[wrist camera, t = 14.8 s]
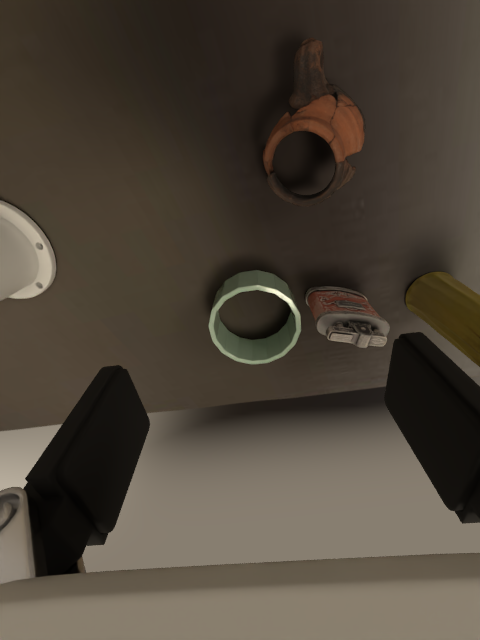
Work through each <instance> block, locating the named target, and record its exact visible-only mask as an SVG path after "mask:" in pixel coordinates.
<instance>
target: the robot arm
mask: <svg viewBox="0 0 480 640" xmlns="http://www.w3.org/2000/svg"><path fill="white" fill-rule="evenodd" d="M55 274H56V259H55V255H54V252H53V249H52V247H51V245H50V242H49V240H48V239H47V237H46V236H45V234H44V233H43V231H42V230H41V229H40V228H39V227H38V225H37V224H36V223H35V222H34V221H33V220H32V219H31V218H29V217H28V216H27V215H26V214H25V213H23V212H22V211H20V210H19V209H17V208H16V207H14V206H12V205H10V204H8V203H6V202H4V201H1V200H0V301H1V300H3V299H5V298H7V297H9V298H16V299H26V298H31V297H35V296H37V295H39V294H40V293H42V292H44V291H45V290H46V289H48V288H49V286H50V285H51V284H52V282H53V280H54V278H55ZM385 404H386V406H387V408H388V410H389V412H390V413H391V415H392V416H393V418H394V420H395V422H396V423H397V425H398V427H399V428H400V430H401V432H402V433H403V435H404V437H405V438H406V440H407V442H408V443H409V445H410V447H411V449H412V450H413V452H414V454H415V455H416V457H417V459H418V460H419V462H420V463H421V465H422V467H423V469H424V470H425V472H426V474H427V475H428V477H429V479H430V480H431V482H432V484H433V485H434V487H435V489H436V490H437V492H438V494H439V496H440V497H441V499H442V501H443V502H444V504H445V505H446V507H447V508H448V509H449V510H451V511H455V513H456V514H457V516H458V517H459V519H460V521H461V522H462V523H477V522H480V386H479V385H477V384H476V383H475V382H474V381H473V380H472V379H471V378H470V377H469V376H468V375H467V374H466V373H465V372H464V371H462V370H461V369H460V368H459V367H458V366H457V365H456V364H455V363H454V362H453V361H452V360H451V359H450V358H449V357H448V356H446V355H445V354H444V353H443V352H442V351H441V350H440V349H439V348H438V347H437V346H436V345H435V344H434V343H433V342H431V341H430V340H429V339H428V338H427V337H426V336H425V335H424V334H423V333H421V332H416V333H407V334H401V335H400V336H399V339H395V341H394V344H393V349H392V355H391V361H390V367H389V373H388V379H387V385H386V391H385ZM149 426H150V422H149V418H148V416H147V413H146V411H145V409H144V407H143V404H142V402H141V400H140V398H139V395H138V393H137V391H136V389H135V386H134V384H133V382H132V380H131V378H130V375H129V373H128V371H127V370H126V369H123V368H122V367H121V366H119V365H117V366H108V367H103V368H101V370H100V371H99V372H98V374H97V375H96V377H95V378H94V380H93V381H92V382H91V384H90V385H89V387H88V388H87V390H86V391H85V393H84V394H83V396H82V397H81V398H80V400H79V401H78V403H77V404H76V406H75V407H74V409H73V410H72V412H71V413H70V414H69V416H68V417H67V419H66V420H65V422H64V423H63V425H62V426H61V428H60V429H59V430H58V432H57V433H56V435H55V436H54V438H53V439H52V441H51V442H50V444H49V445H48V447H47V448H46V450H45V451H44V452H43V454H42V455H41V457H40V458H39V460H38V461H37V462H36V464H35V465H34V467H33V468H32V470H31V471H30V473H29V474H28V476H27V477H26V478H25V479H26V480H27V482H28V483H27V484H26V486H25V487H24V489H22V488H20V487H11V488H7V489H4V490H1V491H0V640H480V553H459V554H429V555H408V556H387V557H365V558H344V559H323V560H303V561H283V562H264V563H246V564H226V565H207V566H191V567H190V566H189V567H172V568H155V569H137V570H119V571H105V572H104V571H103V572H90V573H86V571H85V566H84V562H83V558H82V554H83V552H84V550H85V547H86V545H87V546H91V545H104V544H105V541H106V538H107V535H108V533H109V532H111V531H112V530H113V529H114V527H115V525H116V522H117V519H118V516H119V513H120V510H121V508H122V505H123V502H124V499H125V496H126V493H127V490H128V487H129V485H130V482H131V479H132V476H133V473H134V470H135V467H136V465H137V462H138V459H139V456H140V453H141V450H142V448H143V445H144V442H145V439H146V436H147V433H148V431H149Z"/></svg>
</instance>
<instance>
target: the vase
mask: <svg viewBox="0 0 480 640" xmlns="http://www.w3.org/2000/svg"><path fill="white" fill-rule="evenodd" d="M405 301H406V305H407V307H408V309H409V310H410V311H411V312H413V313H415V314H416V315H417V316H419V317H420V318H421V319H422V320H424V321H425V322H426V323H427V324H429V325H430V326H431V327H432V328H433V329H435V330H436V331H437V332H438V333H439V334H441V335H442V336H443V337H444V338H446V339H447V340H448V341H449V342H450V343H452V344H453V345H454V346H455V347H456V348H458V349H459V350H460V351H461V352H462V353H464V354H465V355H466V356H467V357H468V358H470V359H471V360H472V361H473V362H474V363H476V364H477V365H478V366H479V367H480V295H479V294H477V293H475V292H474V291H472V290H471V289H470V288H468V287H467V286H465V285H464V284H462V283H461V282H459V281H457V280H456V279H454V278H453V277H452V276H451V275H449V274H447V273H445V272H431V273H428V274H425V275H423V276H421V277H420V278H418V279H417V280H416V281H414V282H413V283H412V285H411V286H410V287H409V289H408V291H407V293H406V299H405Z"/></svg>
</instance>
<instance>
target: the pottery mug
mask: <svg viewBox="0 0 480 640" xmlns="http://www.w3.org/2000/svg"><path fill="white" fill-rule="evenodd" d="M293 78H294V91H293V94H292V95H291V97H290V98H289V104H290V105H291V107H292V108H295V109H299V108H300V109H299V110H298V111H297V112H296V113H295V114H294V115H293V116H291V115H290V113H289V112H287V113H285V114H284V115H283V117H282V118H281V119H280V120H279V122H278V123H277V124H276V126H275V127H274V129H273V131H272V132H271V134H270V137H269V139H268V140H267V143H266V147H265V150H264V151H263V162H264V166H265V169H266V172H267V174H268V178H267V182H268V184H269V186H270V187H271V189H272V190H273V191H274V192H275V193H276V194H277V195H278V196H279V197H280V198H281V199H283V200H284V201H287V202H289V203H292V204H294V205H297V206H311V205H316V204H318V203H321V202H323V201H324V200H325V199H328V198H329V197H330V195H332V194H333V193H334V192H335V190H338V189H339V188H341V187H342V186H343V185H344V184H345V183H346V182H348V181H350V180H351V178H352V177H353V175H354V173H355V170H356V168H355V167H351V165H350V164H349V163H348V161H347V159H346V157H347V156H350V155H352V154H354V153H356V152H359V151H360V150H361V147H362V145H363V142H364V132H365V119H364V116H363V114H362V112H361V110H360V109H359V107H358V106H357V105H356V103H355V102H354V101H353V100H352V99H351V98H350V97H349V96H348V95H347V94H346V93H345V92H343V91H342V90H341V89H339V88H338V87H337V86H336V85H330V84H329V83H328V82H327V80H326V78H325V76H324V71H323V45H322V42H321V41H318V40H316V39H314V38H309V39H307V40H305V41H303V43H302V44H301V46H300V47H299V49H298V50H297V52H296V54H295V58H294V77H293ZM295 131H309V132H313V133H315V134H317V135H319V136H321V137H322V138H323V139H325V141H326V142H327V143H328V144H329V145H330V147H331V149H332V151H333V154H334V158H335V163H336V166H335V173H334V176H333V178H332V180H331V182H330V183H329V185H328V186H327V187H326V188H325V189H324V190H322V191H321V192H319V193H316V194H313V195H299V194H296V193H293V192H291V191H289V190H288V189H286V188H285V187H284V186H283V185H282V184H281V183H280V181H279V180H278V178H277V176H276V174H275V172H274V170H273V165H272V160H273V157H274V153H275V150H276V147H277V146H278V144H279V143H280V141H281V140H282V139H283V138H285V137H286V136H287V135H289V134H291V133H293V132H295Z"/></svg>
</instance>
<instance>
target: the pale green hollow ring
mask: <svg viewBox="0 0 480 640" xmlns="http://www.w3.org/2000/svg"><path fill="white" fill-rule="evenodd" d="M252 290H261V291H265V292H269V293H274V294H275V295H277V296H278V297H280V298H281V299H283V300H284V301H286V302H287V303H288V304H289V306H290V308H291V313H290V315H289V318H288V321H287V323H286V324H285V325H284V326H283V327H282V328H281V330H280V331H279V332H278V333H276V334H274V335H272V336H269V337H267V338H265V339H256V340H250V339H245V338H241V337H238V336H236V335H235V334H233V333H231V332H230V331H228V330H227V328H226V327H225V326H224V324H223V323H222V322H221V320H220V317H219V312H218V310H219V308H220V307H221V306H222V304H223V303H224V302H225V300H227V299H229V298H230V297H232V296H234V295H236V294H238V293H239V292H245V291H252ZM209 330H210V334H211V338H212V341H213V342H214V344H215V345H216V346H217V347H218V349H219V350H220V351H221V352H222V353H223V354H225V355H226V356H228V357H230V358H231V359H233V360H235V361H238V362H243V363H248V364H261V363H269V362H271V361H273V360H276V359H278V358H280V357H282V356H284V355H285V354H286V353H287V352H288V351H289V350H290V349H291V348H292V347H293V346H294V345H295V344H296V341H297V339H298V337H299V334H300V332H301V319H300V312H299V309H298V306H297V303H296V300H295V297H294V295H293V293H292V292H291V290H290V288H289V286H288V285H287V283H285V282H284V281H283V280H281V279H280V278H278V277H277V276H276V275H274V274H271V273H267V272H263V271H259V270H254V271H247V272H240V273H238V274H236V275H235V276H233V277H231V278H229V279H228V280H226V281H225V282H224V283H223V285H222V286H221V287H220V289H219V290H218V291H217V293H216V295H215V299H214V303H213V307H212V311H211V316H210V320H209Z"/></svg>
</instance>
